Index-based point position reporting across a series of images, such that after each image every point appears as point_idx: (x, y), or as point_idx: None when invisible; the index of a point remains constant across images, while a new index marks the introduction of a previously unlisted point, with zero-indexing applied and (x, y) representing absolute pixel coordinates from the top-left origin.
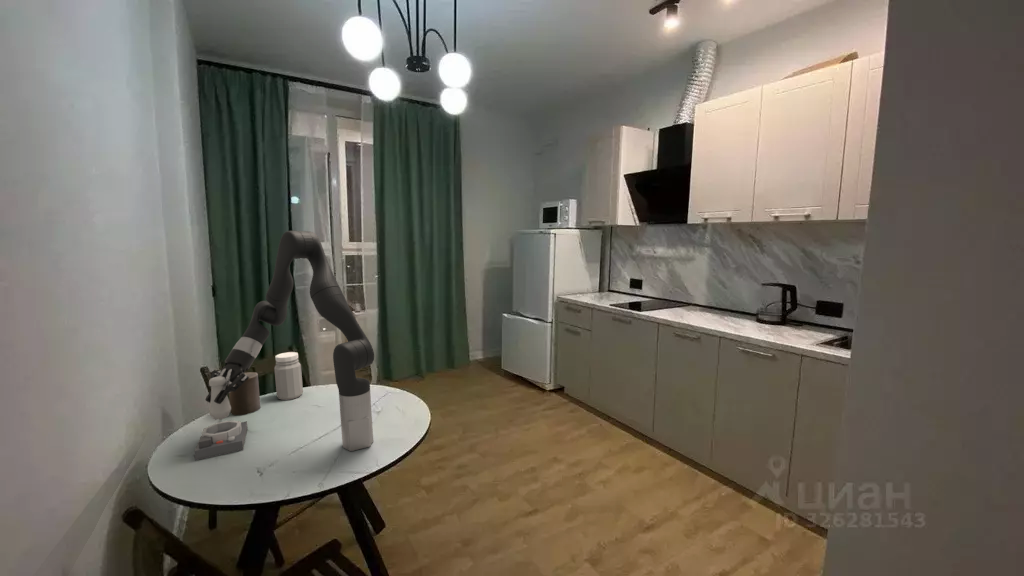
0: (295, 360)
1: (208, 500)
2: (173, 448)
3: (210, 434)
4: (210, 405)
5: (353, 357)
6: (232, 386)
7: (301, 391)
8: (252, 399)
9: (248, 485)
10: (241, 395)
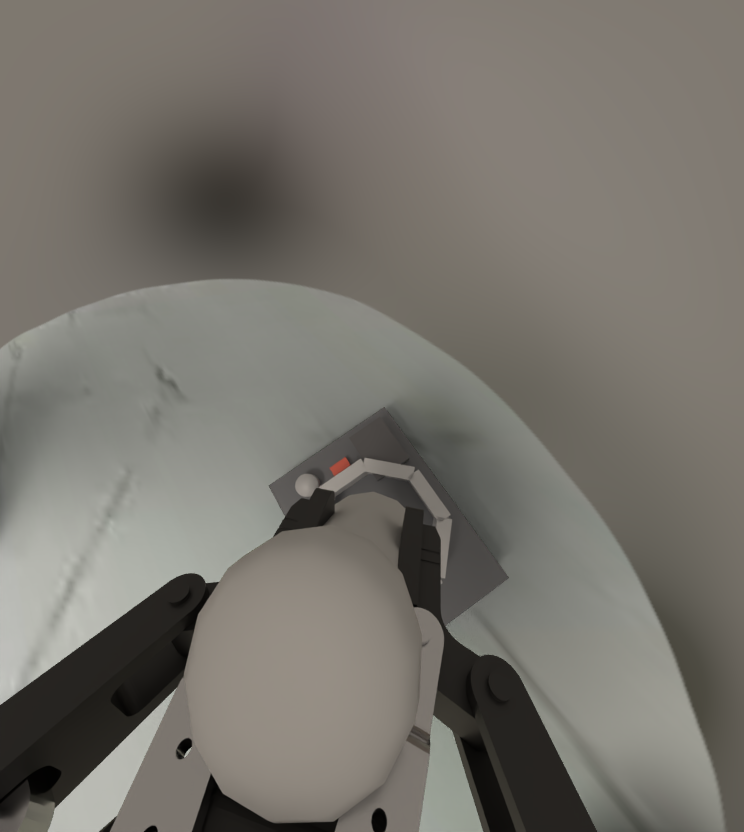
0: None
1: (219, 280)
2: (539, 480)
3: (373, 465)
4: (387, 509)
5: None
6: (146, 608)
7: None
8: None
9: (166, 332)
10: None
